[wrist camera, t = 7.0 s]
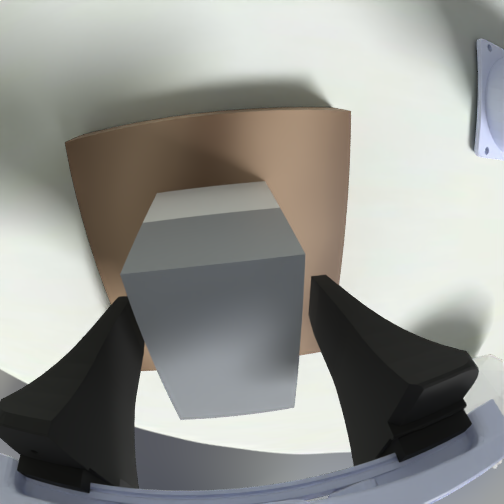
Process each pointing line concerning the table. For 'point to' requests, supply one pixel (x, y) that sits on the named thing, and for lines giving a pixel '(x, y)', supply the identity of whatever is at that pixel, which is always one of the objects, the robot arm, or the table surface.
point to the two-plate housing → (219, 299)
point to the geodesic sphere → (487, 385)
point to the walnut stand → (218, 180)
